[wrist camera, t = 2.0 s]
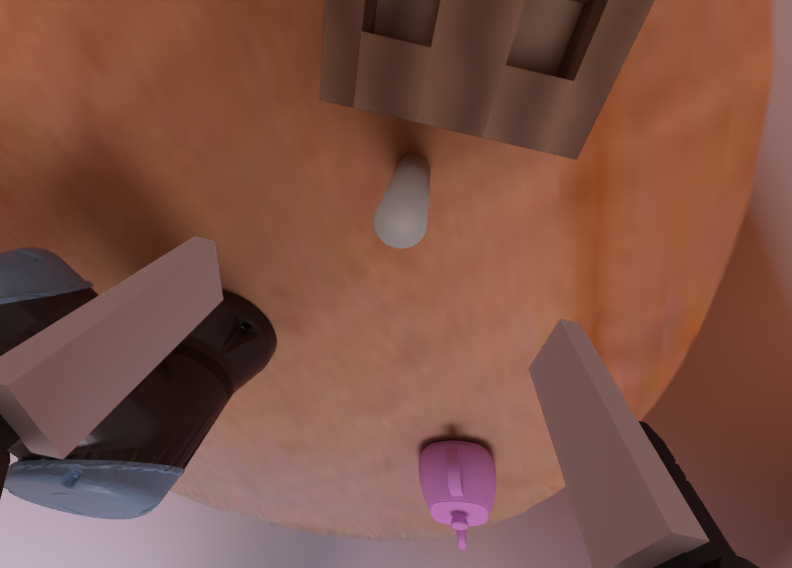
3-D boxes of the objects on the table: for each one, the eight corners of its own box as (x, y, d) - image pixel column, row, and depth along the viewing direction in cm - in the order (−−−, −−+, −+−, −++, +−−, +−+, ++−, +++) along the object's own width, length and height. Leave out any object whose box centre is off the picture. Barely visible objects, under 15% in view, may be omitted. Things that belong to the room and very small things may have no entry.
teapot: (426, 484, 64) (425, 552, 55) (412, 425, 54) (407, 496, 45) (493, 486, 62) (504, 557, 52) (492, 424, 51) (505, 499, 42)
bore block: (340, 97, 29) (319, 100, 24) (359, -141, 21) (335, -213, 16) (551, 146, 29) (576, 159, 24) (647, -71, 21) (712, -120, 16)
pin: (393, 185, 32) (369, 242, 21) (400, 151, 30) (377, 191, 19) (425, 192, 32) (420, 253, 21) (434, 158, 30) (433, 204, 19)
